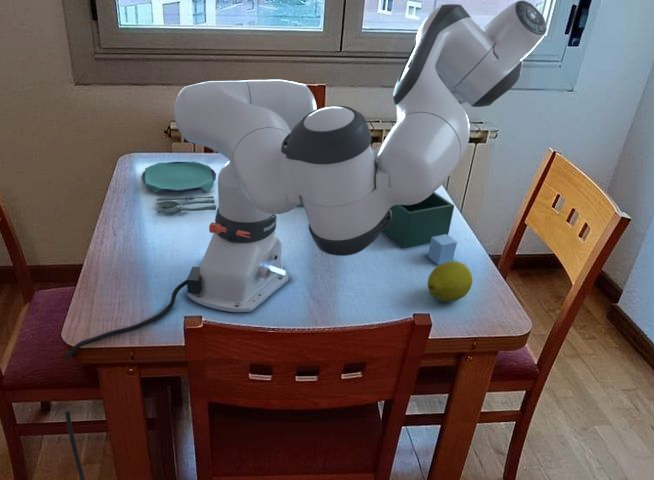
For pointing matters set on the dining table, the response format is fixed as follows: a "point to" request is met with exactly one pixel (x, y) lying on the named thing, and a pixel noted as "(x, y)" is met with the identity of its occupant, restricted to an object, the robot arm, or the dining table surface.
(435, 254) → the block
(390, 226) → the bin
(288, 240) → the dining table surface
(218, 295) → the robot arm
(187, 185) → the cutlery set
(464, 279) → the lemon
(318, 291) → the dining table surface
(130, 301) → the dining table surface
